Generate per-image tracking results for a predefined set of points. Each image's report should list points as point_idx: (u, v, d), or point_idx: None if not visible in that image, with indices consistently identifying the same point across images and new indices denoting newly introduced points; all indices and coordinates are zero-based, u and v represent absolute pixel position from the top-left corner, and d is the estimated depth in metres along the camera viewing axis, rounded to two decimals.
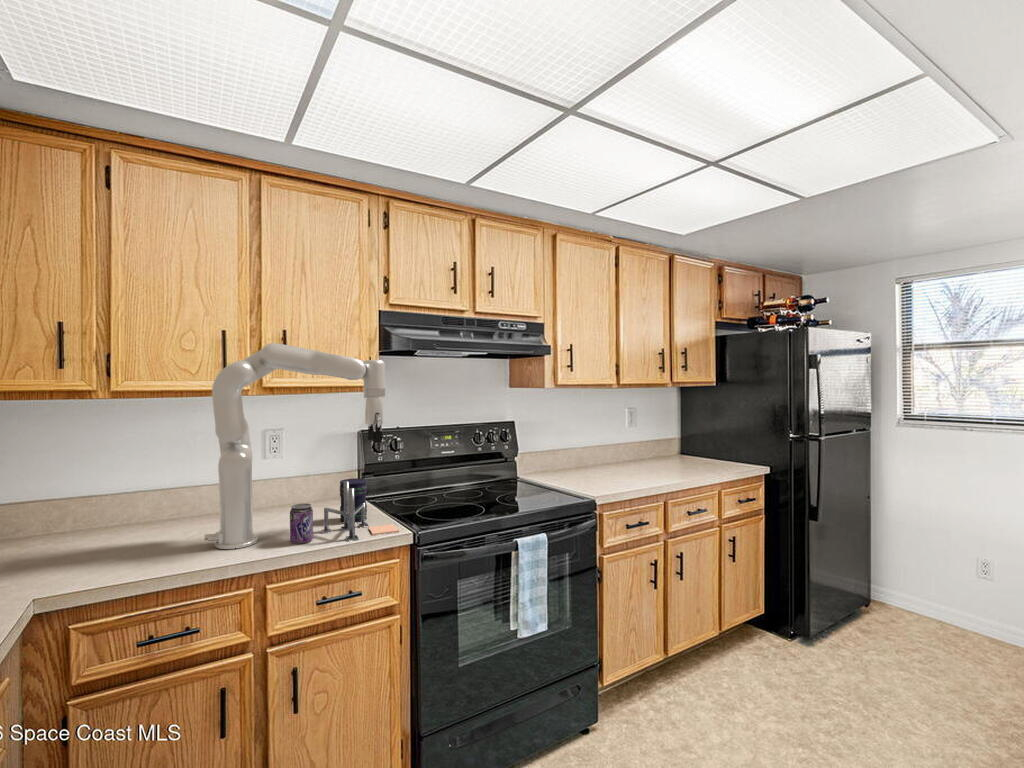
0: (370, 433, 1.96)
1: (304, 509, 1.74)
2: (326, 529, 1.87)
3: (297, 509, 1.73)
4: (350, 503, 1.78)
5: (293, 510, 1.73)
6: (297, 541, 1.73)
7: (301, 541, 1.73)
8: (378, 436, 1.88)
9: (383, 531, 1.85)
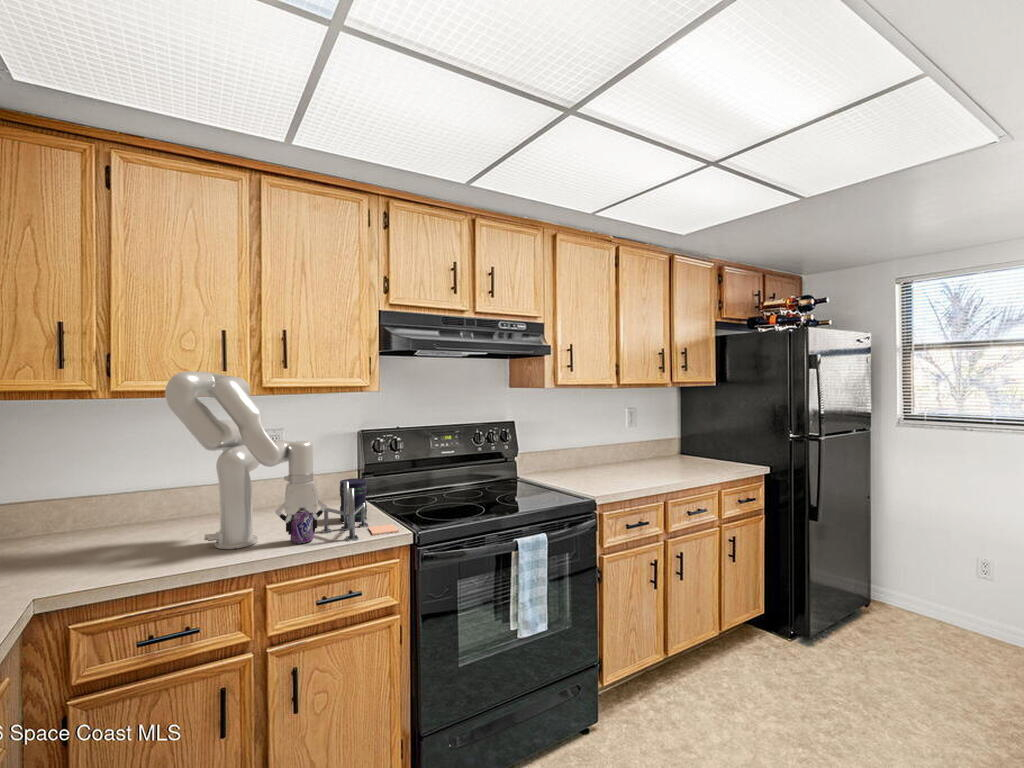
0: (290, 527, 1.74)
1: (304, 509, 1.74)
2: (326, 529, 1.87)
3: None
4: (350, 503, 1.78)
5: None
6: (297, 541, 1.73)
7: (301, 541, 1.73)
8: (316, 523, 1.78)
9: (383, 531, 1.85)
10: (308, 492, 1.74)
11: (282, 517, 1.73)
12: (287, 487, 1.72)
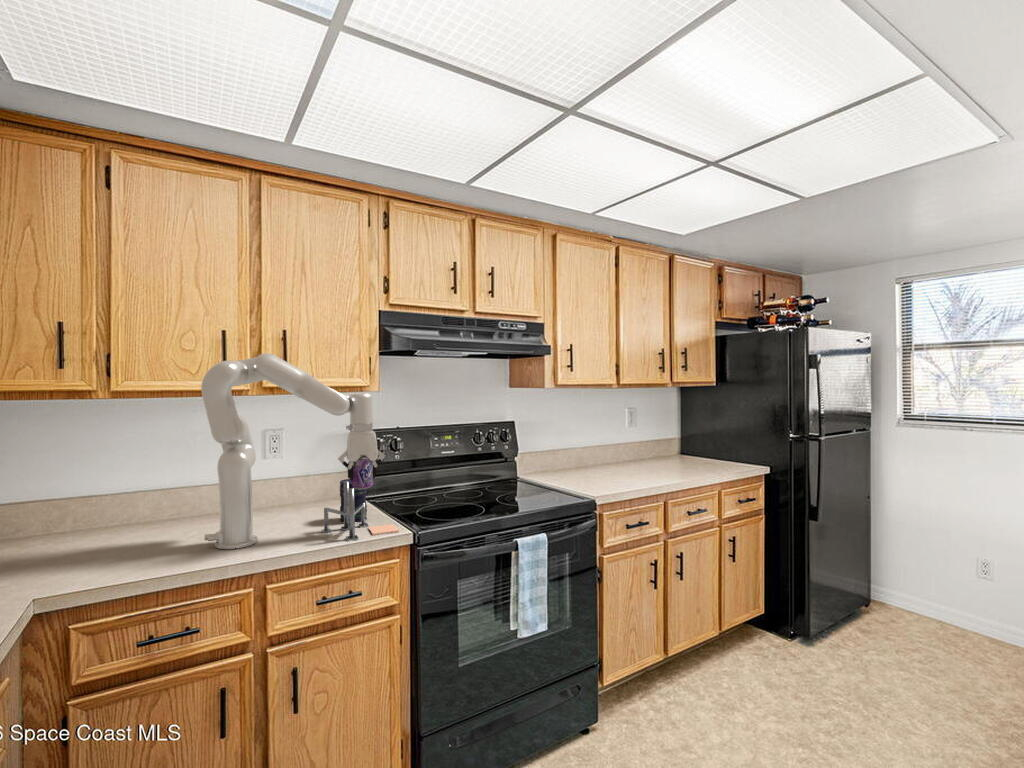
0: (352, 473, 1.84)
1: (365, 456, 1.84)
2: (326, 529, 1.87)
3: None
4: (350, 503, 1.78)
5: None
6: (359, 486, 1.83)
7: (363, 486, 1.83)
8: (375, 471, 1.88)
9: (383, 531, 1.85)
10: (369, 441, 1.84)
11: (345, 464, 1.83)
12: (349, 435, 1.82)
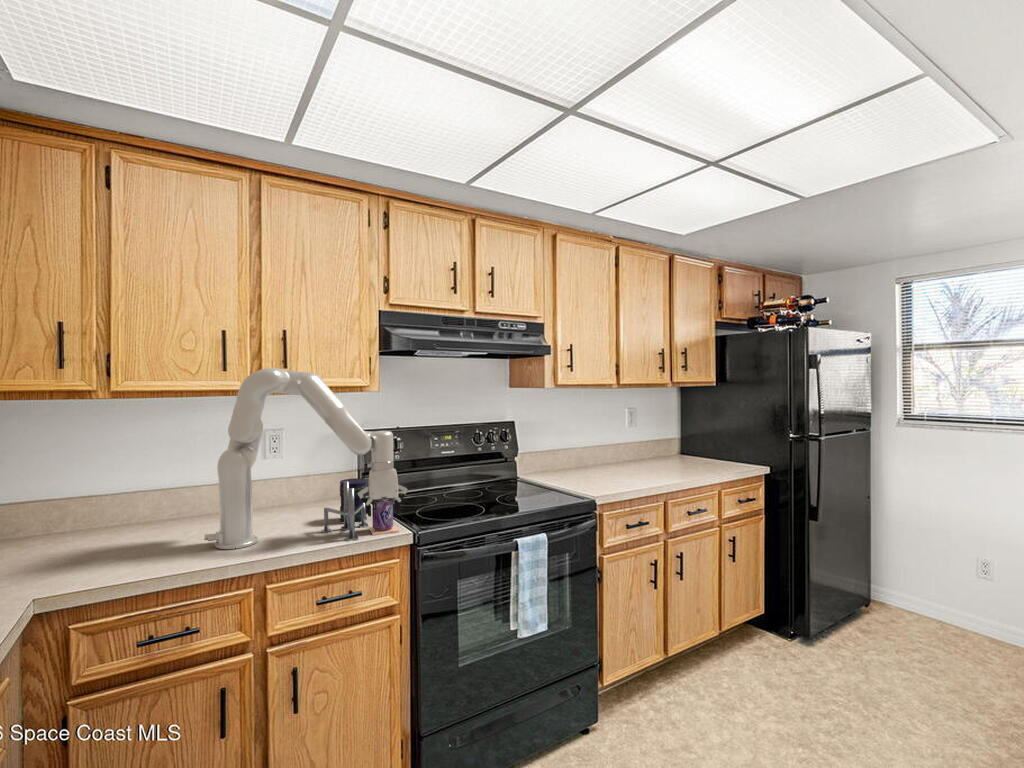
0: (370, 509, 1.86)
1: (386, 498, 1.86)
2: (326, 529, 1.87)
3: None
4: (350, 503, 1.78)
5: None
6: (380, 528, 1.85)
7: (384, 528, 1.85)
8: None
9: (383, 531, 1.85)
10: (390, 478, 1.87)
11: (363, 500, 1.85)
12: (371, 473, 1.85)
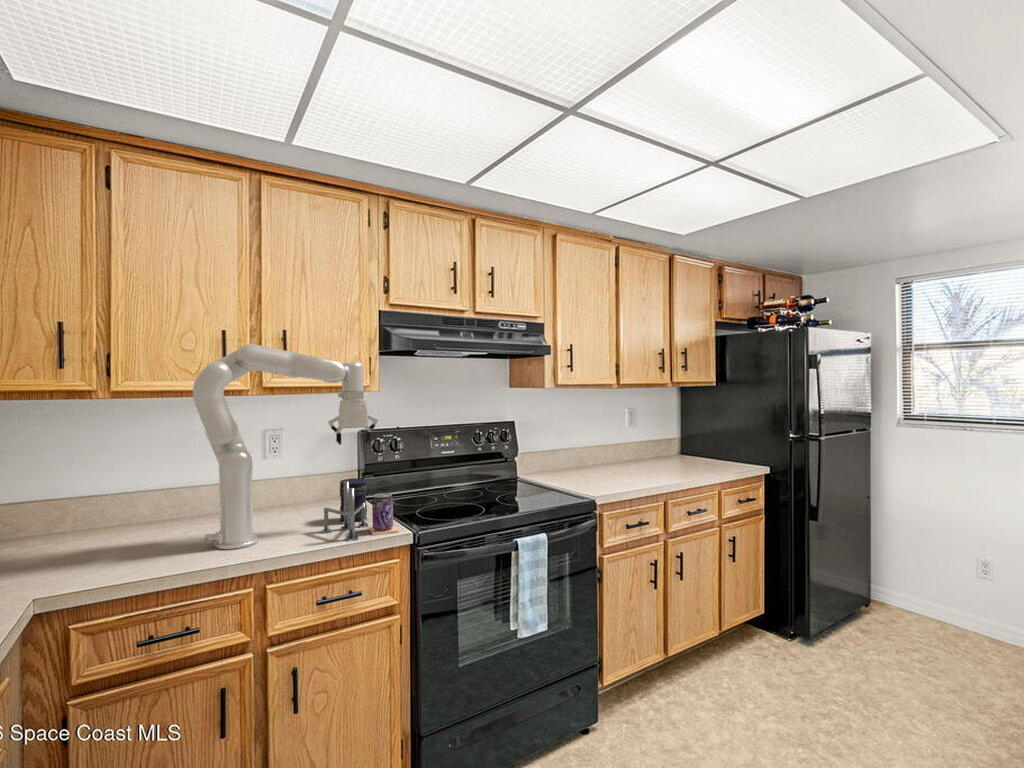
0: (340, 437, 1.91)
1: (386, 498, 1.86)
2: (326, 529, 1.87)
3: (380, 498, 1.85)
4: (350, 503, 1.78)
5: (376, 499, 1.86)
6: (380, 528, 1.85)
7: (384, 528, 1.85)
8: (369, 436, 1.96)
9: (383, 531, 1.85)
10: (360, 408, 1.92)
11: (333, 428, 1.90)
12: (341, 402, 1.90)
